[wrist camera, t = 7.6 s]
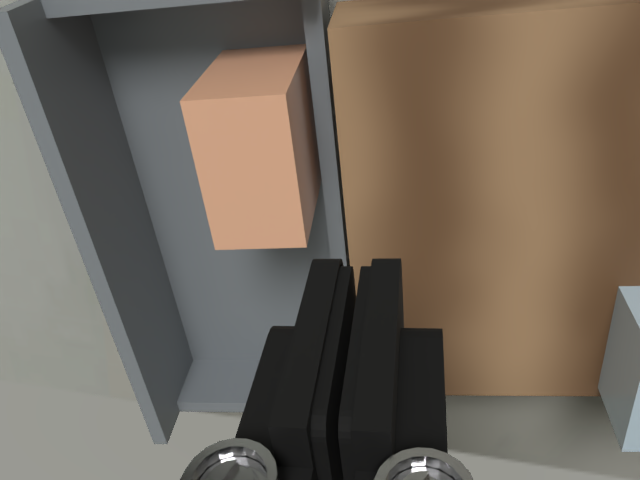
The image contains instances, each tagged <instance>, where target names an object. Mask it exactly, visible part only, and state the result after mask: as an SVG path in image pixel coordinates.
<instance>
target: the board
mask: <svg viewBox="0 0 640 480" xmlns="http://www.w3.org/2000/svg"><path fill="white" fill-rule="evenodd" d="M327 31H328V41H329V52H330V62H331V72H332V83H333V93H334V104H335V114H336V125H337V135H338V145H339V156H340V166H341V177H342V187H343V198H344V208H345V219H346V229H347V239H348V250H349V260H350V266H353V269H354V279H355V290H356V295H357V289H358V282H359V275H360V269H361V266H371V262H372V259H379V258H401V262H402V286H403V311H404V328H441V329H443V350H444V375H445V395H480V396H601V395H600V392H599V389H598V384H599V379H600V374H601V369H602V364H603V359H604V354H605V350H606V345H607V340H608V335H609V330H610V325H611V320H612V315H613V311H614V306H615V301H616V296H617V291H618V286H640V0H353V1H342V2H337V4H336V6H335V9H334V12H333V14H332V17H331V20H330V23H329V25H328V28H327Z"/></svg>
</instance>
